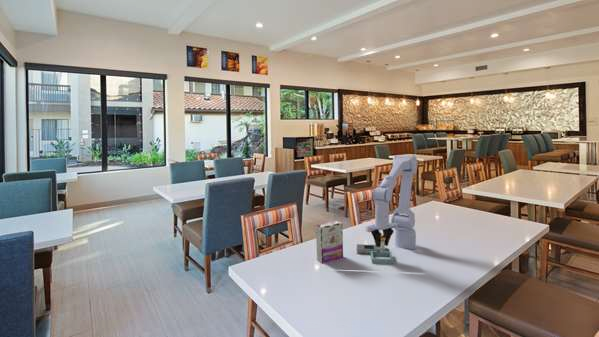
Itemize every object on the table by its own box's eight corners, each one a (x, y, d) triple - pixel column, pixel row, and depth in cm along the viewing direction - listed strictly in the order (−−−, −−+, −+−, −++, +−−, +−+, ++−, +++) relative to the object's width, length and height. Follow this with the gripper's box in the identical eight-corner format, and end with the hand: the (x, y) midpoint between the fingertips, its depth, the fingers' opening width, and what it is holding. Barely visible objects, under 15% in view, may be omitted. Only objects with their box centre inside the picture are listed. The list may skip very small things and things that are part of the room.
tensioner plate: (389, 250, 152) (389, 245, 151) (390, 256, 145) (391, 250, 144) (356, 249, 154) (356, 244, 154) (356, 255, 147) (356, 249, 147)
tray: (391, 256, 144) (391, 251, 144) (393, 265, 135) (393, 259, 135) (370, 255, 146) (370, 250, 145) (371, 264, 137) (371, 258, 137)
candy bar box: (337, 255, 148) (336, 220, 146) (343, 258, 143) (343, 222, 141) (316, 260, 143) (315, 224, 141) (322, 264, 138) (321, 227, 136)
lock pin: (381, 249, 143) (382, 234, 142) (386, 253, 139) (387, 237, 138) (374, 250, 142) (375, 235, 140) (379, 254, 138) (380, 238, 137)
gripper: (391, 211, 144) (390, 240, 146) (362, 214, 140) (362, 245, 141) (400, 215, 137) (400, 245, 139) (370, 218, 133) (370, 250, 135)
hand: (381, 245), depth 140 cm, fingers closed on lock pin, 3 cm apart
